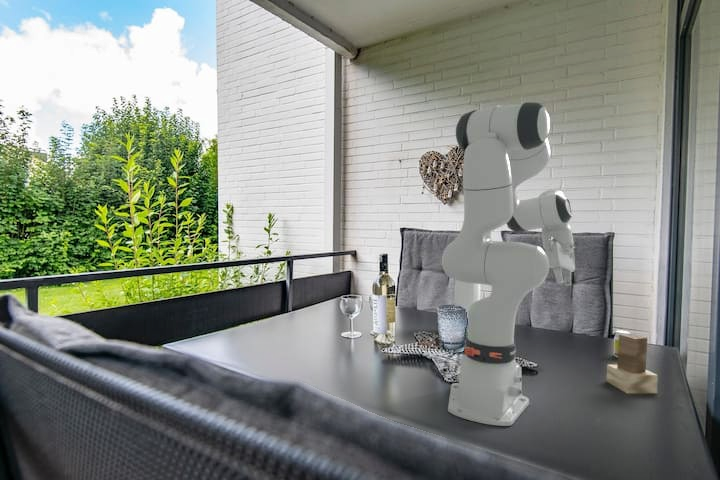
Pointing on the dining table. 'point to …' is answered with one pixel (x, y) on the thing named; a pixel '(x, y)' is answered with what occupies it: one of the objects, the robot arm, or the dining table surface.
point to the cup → (466, 294)
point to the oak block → (632, 380)
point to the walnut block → (632, 353)
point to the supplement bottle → (616, 341)
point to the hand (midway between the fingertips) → (564, 284)
